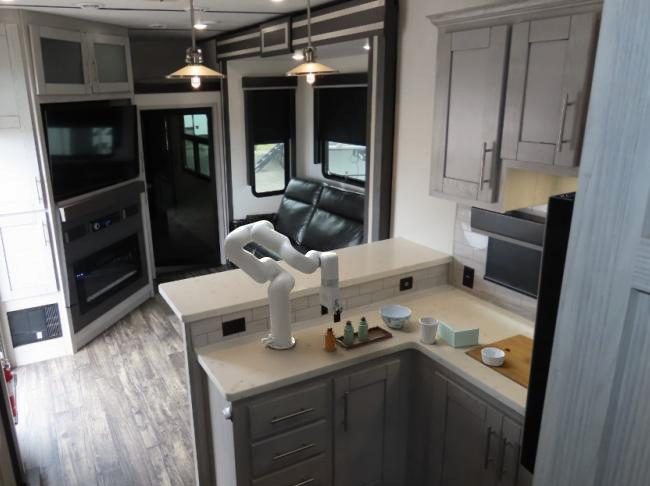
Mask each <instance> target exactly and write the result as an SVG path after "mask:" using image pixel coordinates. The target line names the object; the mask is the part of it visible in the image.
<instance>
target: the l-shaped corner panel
mask: <svg viewBox="0 0 650 486" xmlns="http://www.w3.org/2000/svg"><path fill="white" fill-rule="evenodd" d="M438 321H439V323H438V337H439V338H440V339H441V340H443V341H444V342H445V343H447V344H448V345H449V346H450V347H452V348H453V349H456V348H462V347H469V346H476V345H479V339H480V338H479V337H480V336H479V335H480V327H474V328H467V329H460V330H455V329H454V328H452V327H451V326H450V325H448V324H446V323H445V322H444V321H443V320H438Z"/></svg>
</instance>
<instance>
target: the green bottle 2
mask: <svg viewBox="0 0 650 486" xmlns="http://www.w3.org/2000/svg"><path fill="white" fill-rule="evenodd" d="M366 318H367V317H366V316H361V317H360V319H359V321H358V323H357V331H358V339H359V340H361V341H366V340H368V328H369V323H368V321H367V319H366Z"/></svg>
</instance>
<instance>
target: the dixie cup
mask: <svg viewBox="0 0 650 486" xmlns="http://www.w3.org/2000/svg"><path fill="white" fill-rule="evenodd" d="M418 321H419V331H420V340H421V342H422V343H423V344H426V345H433V344H434V343H435V342H436V336H437V332H438V328H439V321H440V320H438V319H437V318H435V317H431V316H423V317H421V318H419V319H418Z"/></svg>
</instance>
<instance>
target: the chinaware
mask: <svg viewBox="0 0 650 486" xmlns="http://www.w3.org/2000/svg"><path fill="white" fill-rule="evenodd" d="M378 312H379V316H380V319H381V320H382V321H383V322H384V323H385V324H386V325H387V326H388V327H389V328H392V329H397V330H398V329H401V328H403V326H404V325H406V324H407V323H408V322H409V320H410V319H411V316H412V310H411V309H410V308H409V307H406V306H404V305H399V304H388V305H383V306H381V307H379V309H378Z"/></svg>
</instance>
